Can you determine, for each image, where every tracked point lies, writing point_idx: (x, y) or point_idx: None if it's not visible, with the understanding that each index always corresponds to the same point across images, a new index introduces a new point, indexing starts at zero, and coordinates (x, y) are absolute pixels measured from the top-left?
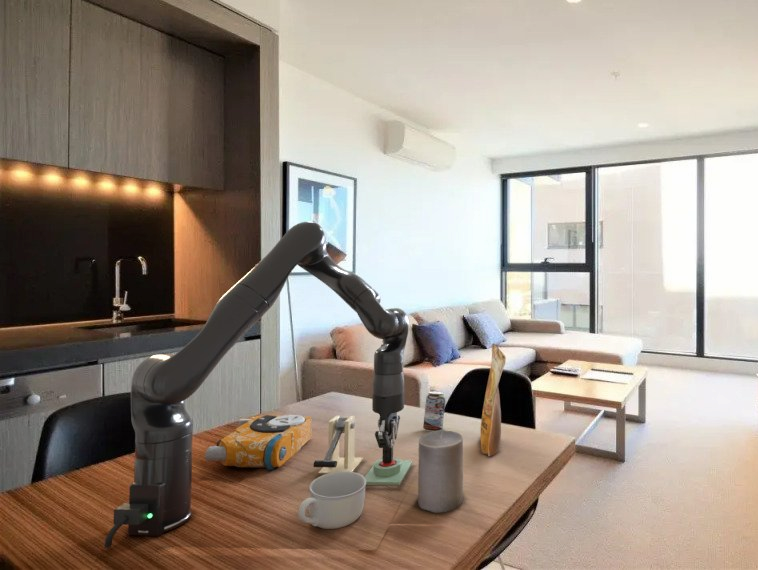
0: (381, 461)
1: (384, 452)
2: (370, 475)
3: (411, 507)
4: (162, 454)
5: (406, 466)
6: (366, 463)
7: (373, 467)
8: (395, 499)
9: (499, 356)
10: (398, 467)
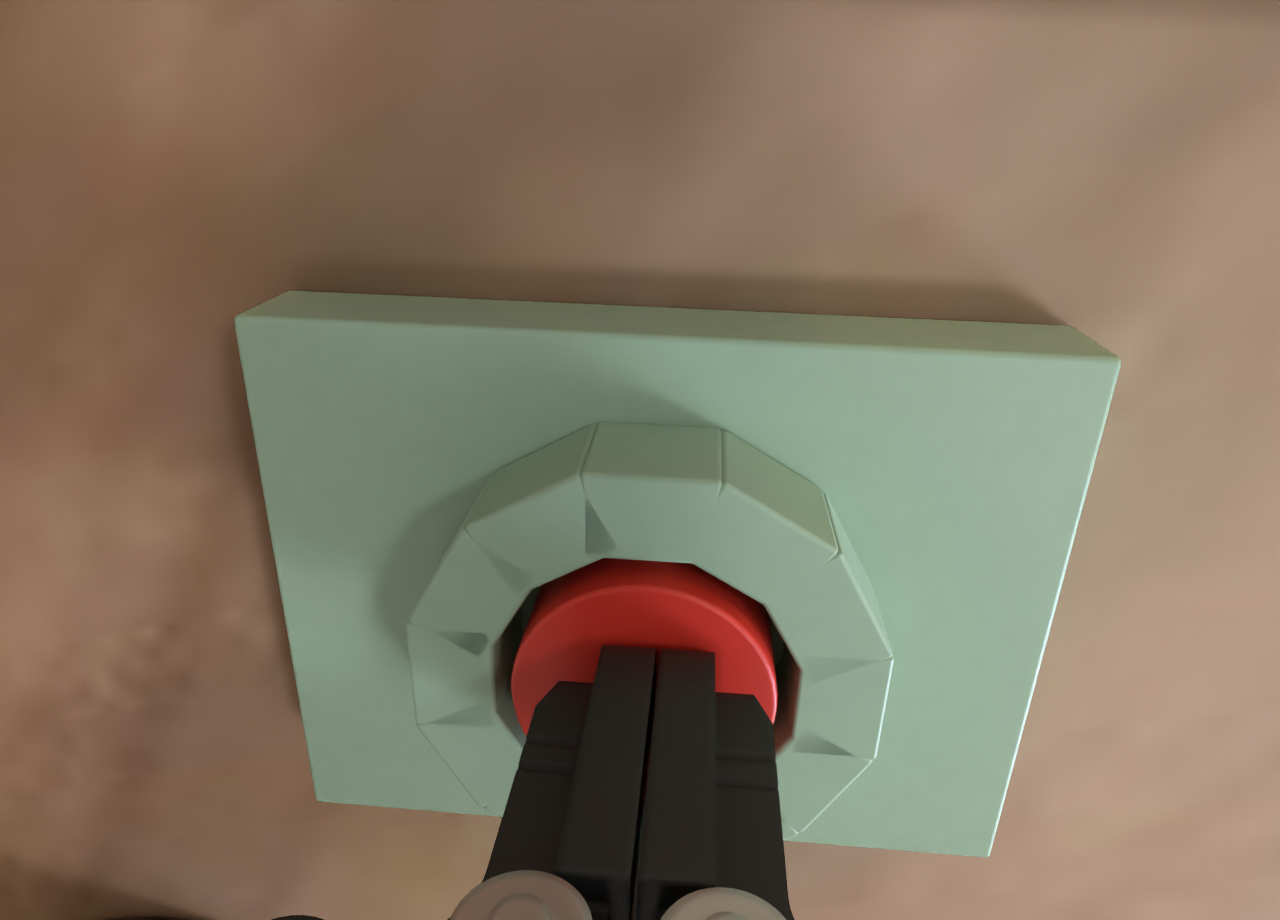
0: (675, 598)
1: (506, 839)
2: (461, 411)
3: (56, 874)
4: None
5: None
6: (1275, 71)
7: (573, 456)
8: (151, 735)
9: None
10: None
